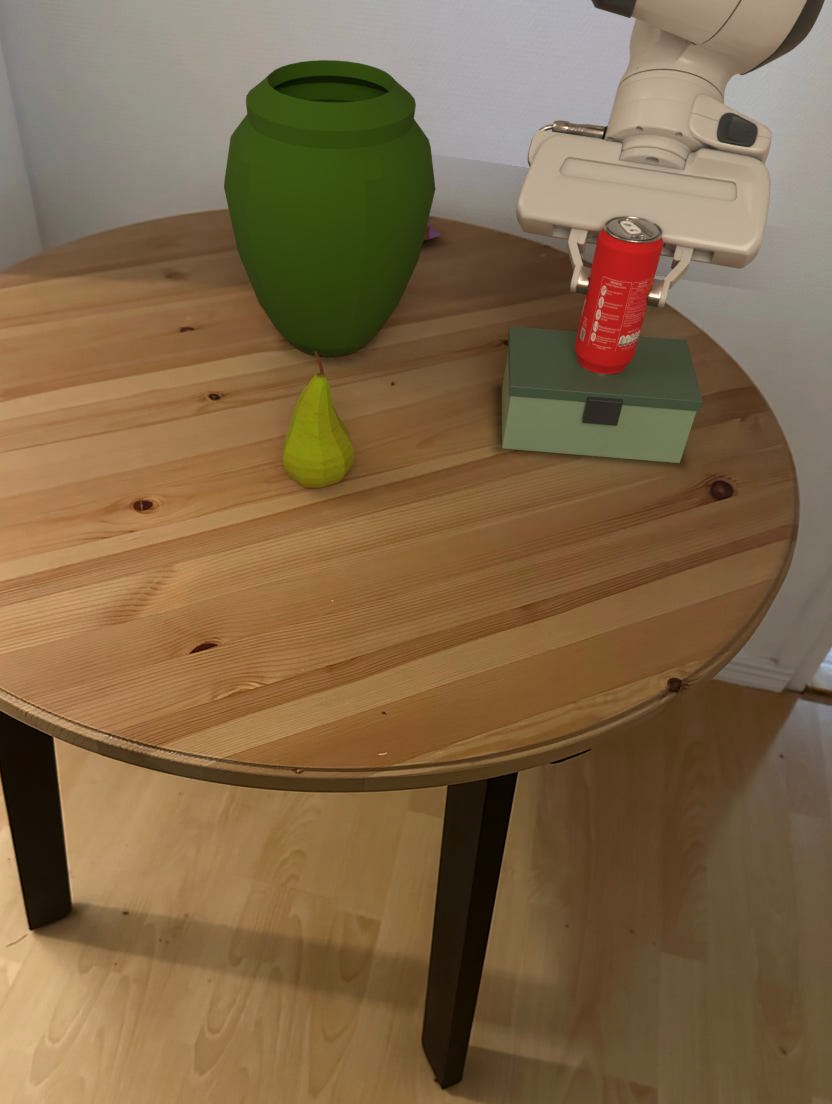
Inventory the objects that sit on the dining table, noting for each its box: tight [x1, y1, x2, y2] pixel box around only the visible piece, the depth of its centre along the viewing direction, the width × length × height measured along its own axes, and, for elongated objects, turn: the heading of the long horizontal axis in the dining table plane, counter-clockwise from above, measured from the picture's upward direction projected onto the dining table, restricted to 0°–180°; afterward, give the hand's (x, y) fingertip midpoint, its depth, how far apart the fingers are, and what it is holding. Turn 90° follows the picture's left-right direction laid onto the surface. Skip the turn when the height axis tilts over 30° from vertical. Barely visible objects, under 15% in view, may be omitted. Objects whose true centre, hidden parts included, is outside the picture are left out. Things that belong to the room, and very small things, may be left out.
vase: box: [223, 59, 436, 357], centre depth 93 cm, size 20×20×24 cm
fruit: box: [282, 351, 355, 489], centre depth 81 cm, size 6×6×12 cm
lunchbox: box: [501, 326, 704, 464], centre depth 90 cm, size 16×11×7 cm
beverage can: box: [575, 216, 663, 375], centre depth 84 cm, size 5×5×12 cm
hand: (616, 298), depth 83 cm, fingers closed on beverage can, 5 cm apart
